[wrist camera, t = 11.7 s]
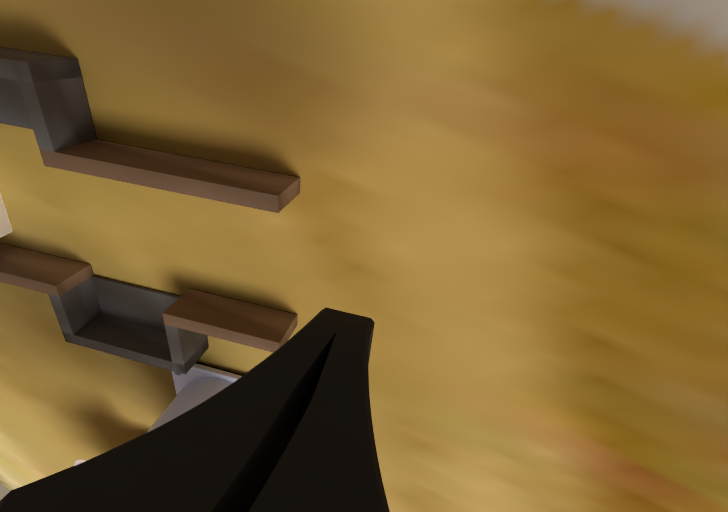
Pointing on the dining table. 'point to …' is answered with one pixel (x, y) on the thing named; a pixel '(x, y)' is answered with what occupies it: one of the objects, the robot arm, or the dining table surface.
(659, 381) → the dining table surface
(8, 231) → the cream block
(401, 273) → the dining table surface
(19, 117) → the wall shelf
